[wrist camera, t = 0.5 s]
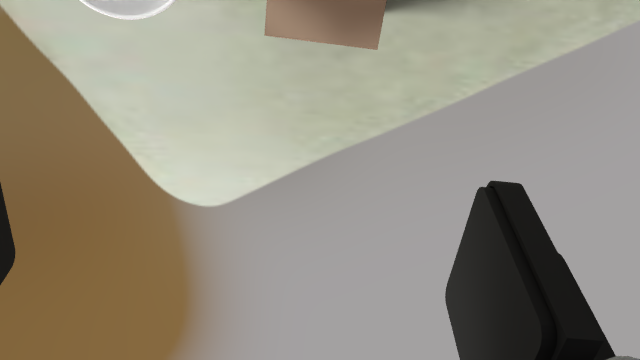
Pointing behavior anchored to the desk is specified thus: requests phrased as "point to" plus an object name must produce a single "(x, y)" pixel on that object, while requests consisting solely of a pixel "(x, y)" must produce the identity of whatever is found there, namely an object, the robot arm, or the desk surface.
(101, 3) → the white cup
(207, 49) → the desk surface
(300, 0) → the brown open box
